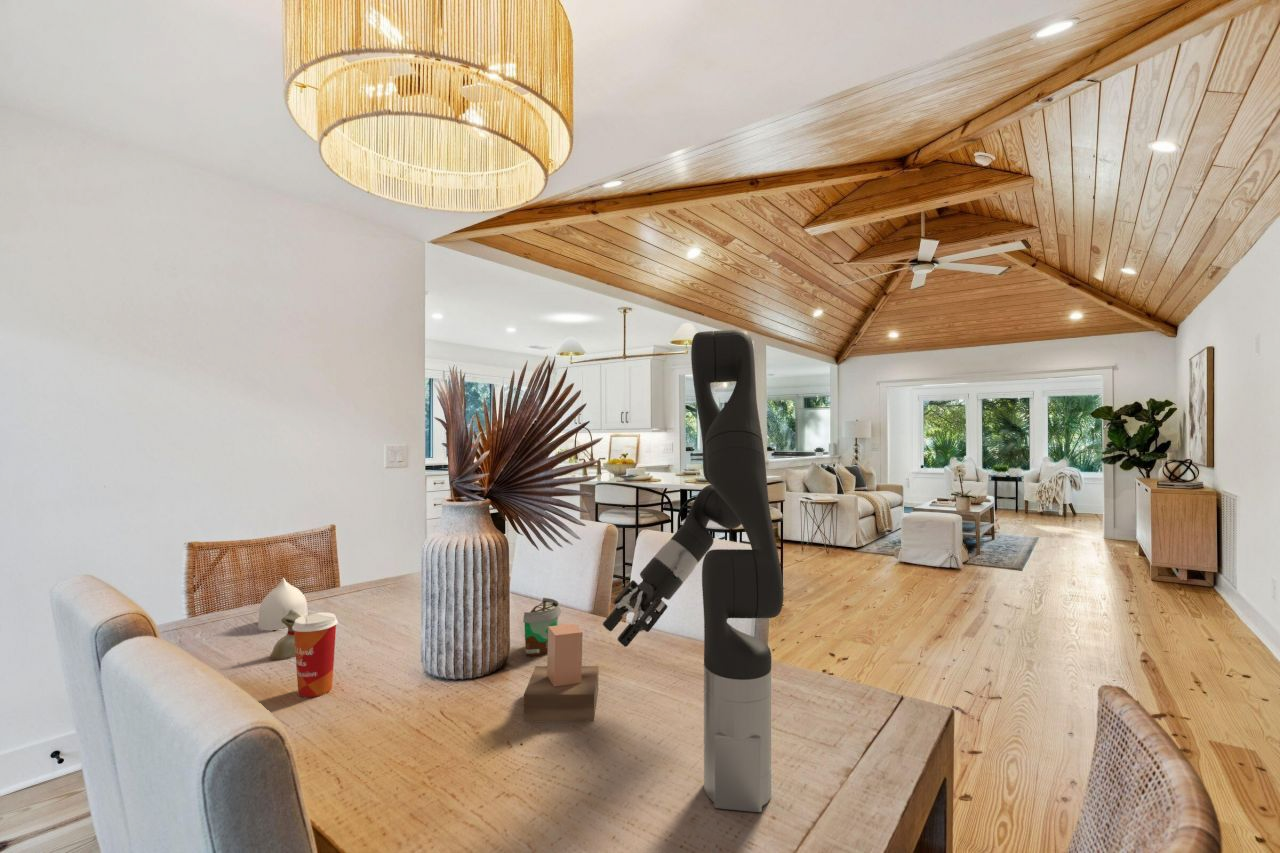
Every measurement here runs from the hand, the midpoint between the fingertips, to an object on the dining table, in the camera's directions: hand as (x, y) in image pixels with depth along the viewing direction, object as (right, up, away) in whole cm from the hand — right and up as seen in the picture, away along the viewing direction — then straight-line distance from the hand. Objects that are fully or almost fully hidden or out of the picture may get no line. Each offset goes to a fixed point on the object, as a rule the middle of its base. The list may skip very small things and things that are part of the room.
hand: (613, 635), depth 111 cm
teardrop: (-86, -12, +41) cm, 96 cm away
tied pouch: (-72, -11, +20) cm, 76 cm away
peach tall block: (-9, -7, -4) cm, 12 cm away
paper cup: (-57, -11, +2) cm, 58 cm away
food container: (-16, -11, +23) cm, 30 cm away
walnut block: (-9, -12, -4) cm, 15 cm away
